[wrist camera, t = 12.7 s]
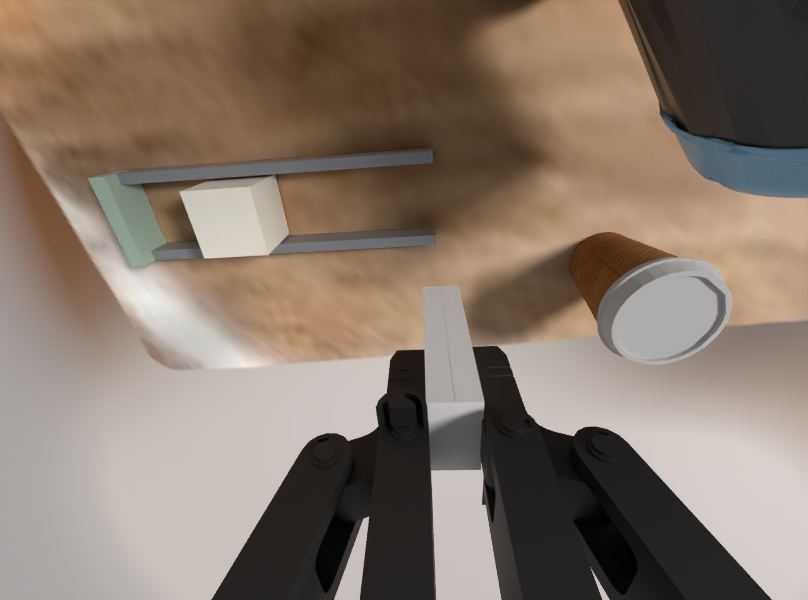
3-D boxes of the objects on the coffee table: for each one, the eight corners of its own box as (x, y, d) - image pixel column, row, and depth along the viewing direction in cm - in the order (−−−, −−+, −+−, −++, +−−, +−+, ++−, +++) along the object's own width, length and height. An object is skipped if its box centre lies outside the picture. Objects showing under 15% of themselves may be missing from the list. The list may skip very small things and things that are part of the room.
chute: (120, 170, 35) (87, 177, 31) (431, 147, 33) (433, 152, 29) (157, 252, 39) (131, 266, 35) (434, 236, 37) (436, 250, 33)
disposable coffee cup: (653, 280, 38) (741, 346, 28) (564, 310, 41) (615, 383, 30) (641, 200, 34) (739, 243, 24) (544, 239, 37) (594, 294, 26)
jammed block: (215, 177, 34) (179, 191, 29) (275, 173, 34) (249, 186, 29) (234, 236, 37) (204, 258, 32) (289, 233, 37) (268, 255, 32)
